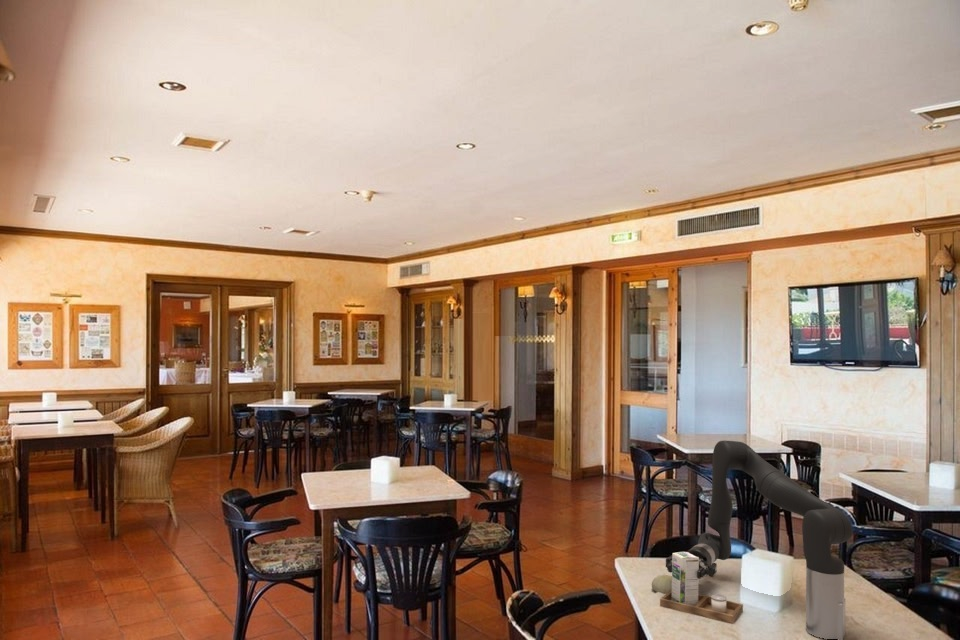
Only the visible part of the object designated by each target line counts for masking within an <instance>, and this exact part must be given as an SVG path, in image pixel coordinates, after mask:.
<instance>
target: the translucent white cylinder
mask: <svg viewBox="0 0 960 640" xmlns="http://www.w3.org/2000/svg"><path fill="white" fill-rule="evenodd" d="M710 597H711V598H712V599H711V610H712V611H717V612H721V613H725V614H726V600H727V599H728V598H727V596H725V595H724V594H716V593H715V594H711V596H710ZM727 601H728V600H727Z"/></svg>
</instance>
